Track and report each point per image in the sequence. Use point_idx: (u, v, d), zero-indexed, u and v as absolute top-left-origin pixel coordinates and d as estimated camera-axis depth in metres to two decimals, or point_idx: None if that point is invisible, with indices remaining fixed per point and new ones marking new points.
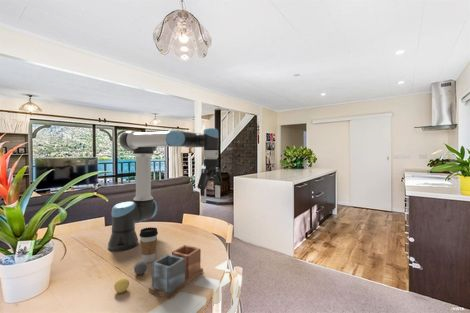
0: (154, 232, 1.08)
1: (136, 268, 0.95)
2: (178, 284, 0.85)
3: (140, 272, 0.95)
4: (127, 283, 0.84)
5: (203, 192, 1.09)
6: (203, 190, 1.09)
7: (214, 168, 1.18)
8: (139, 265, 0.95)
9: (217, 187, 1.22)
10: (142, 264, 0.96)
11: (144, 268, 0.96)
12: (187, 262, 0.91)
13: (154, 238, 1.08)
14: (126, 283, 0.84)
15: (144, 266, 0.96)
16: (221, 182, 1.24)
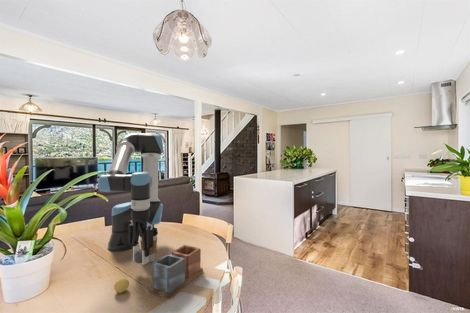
0: (154, 232, 1.08)
1: (136, 257, 0.95)
2: (178, 284, 0.85)
3: (140, 261, 0.95)
4: (127, 283, 0.84)
5: None
6: (133, 247, 0.98)
7: (141, 220, 0.95)
8: (139, 254, 0.96)
9: None
10: None
11: None
12: (187, 262, 0.91)
13: (154, 238, 1.08)
14: (126, 283, 0.84)
15: None
16: (146, 246, 0.94)
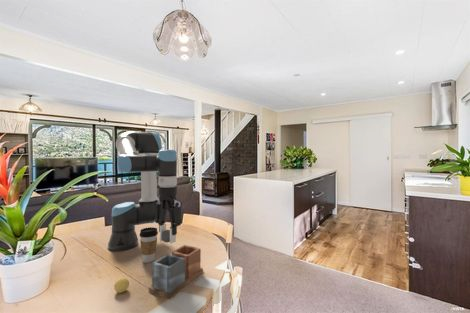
0: (154, 232, 1.08)
1: (163, 235, 0.93)
2: (178, 284, 0.85)
3: (167, 239, 0.93)
4: (127, 283, 0.84)
5: (160, 228, 0.97)
6: (160, 226, 0.97)
7: (169, 197, 0.94)
8: (166, 232, 0.94)
9: None
10: (169, 232, 0.95)
11: None
12: (187, 262, 0.91)
13: (154, 238, 1.08)
14: (126, 283, 0.84)
15: None
16: (174, 223, 0.92)
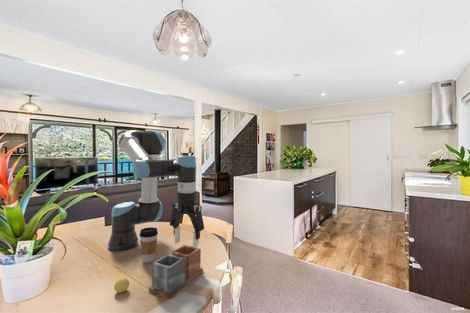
0: (154, 232, 1.08)
1: None
2: (178, 284, 0.85)
3: None
4: (127, 283, 0.84)
5: (174, 231, 0.98)
6: (174, 228, 0.98)
7: (188, 204, 0.94)
8: None
9: None
10: None
11: None
12: (187, 262, 0.91)
13: (154, 238, 1.08)
14: (126, 283, 0.84)
15: None
16: (198, 228, 0.92)
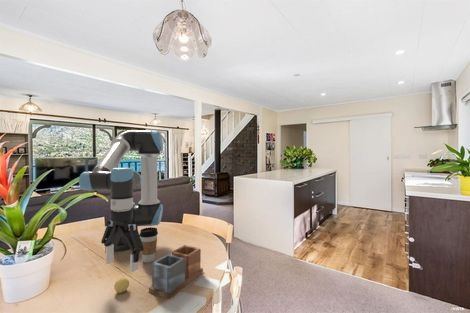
0: (154, 232, 1.08)
1: None
2: (178, 284, 0.85)
3: None
4: (127, 283, 0.84)
5: None
6: None
7: (122, 224, 0.82)
8: None
9: None
10: None
11: None
12: (187, 262, 0.91)
13: (154, 238, 1.08)
14: (126, 283, 0.84)
15: None
16: (135, 250, 0.79)
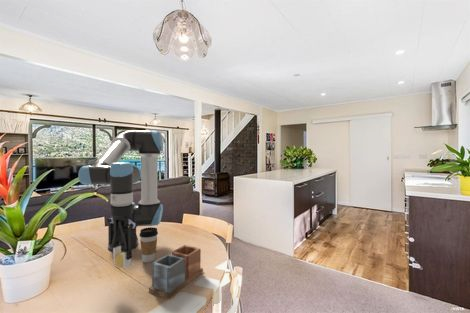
0: (154, 232, 1.08)
1: None
2: (178, 284, 0.85)
3: None
4: None
5: None
6: None
7: (123, 217, 0.82)
8: None
9: None
10: None
11: None
12: (187, 262, 0.91)
13: (154, 238, 1.08)
14: None
15: None
16: (128, 247, 0.81)
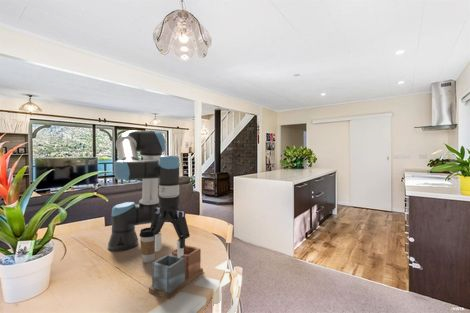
0: None
1: None
2: (178, 284, 0.85)
3: None
4: None
5: (154, 238, 0.89)
6: (154, 235, 0.89)
7: (170, 209, 0.85)
8: None
9: None
10: None
11: None
12: (187, 262, 0.91)
13: None
14: None
15: None
16: (182, 236, 0.82)
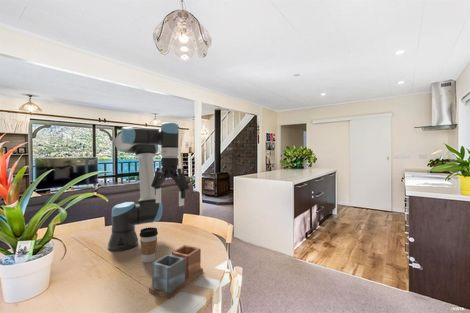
0: (154, 232, 1.08)
1: None
2: (178, 284, 0.85)
3: None
4: None
5: (155, 192, 1.05)
6: (155, 189, 1.05)
7: (170, 168, 1.01)
8: None
9: None
10: None
11: None
12: (187, 262, 0.91)
13: (154, 238, 1.08)
14: None
15: None
16: (183, 188, 0.98)
